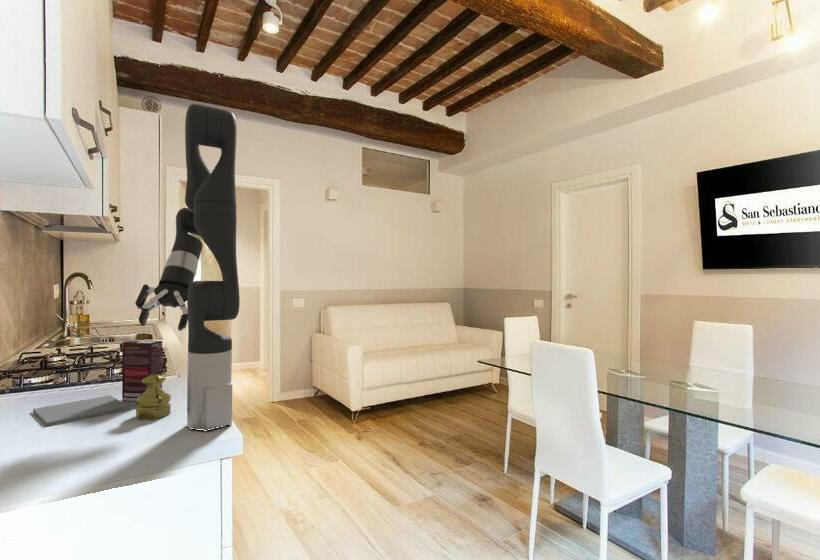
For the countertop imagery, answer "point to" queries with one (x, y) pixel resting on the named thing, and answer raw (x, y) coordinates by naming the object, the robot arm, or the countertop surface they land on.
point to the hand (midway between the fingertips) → (161, 327)
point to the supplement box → (139, 366)
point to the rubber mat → (79, 410)
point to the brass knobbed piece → (153, 399)
